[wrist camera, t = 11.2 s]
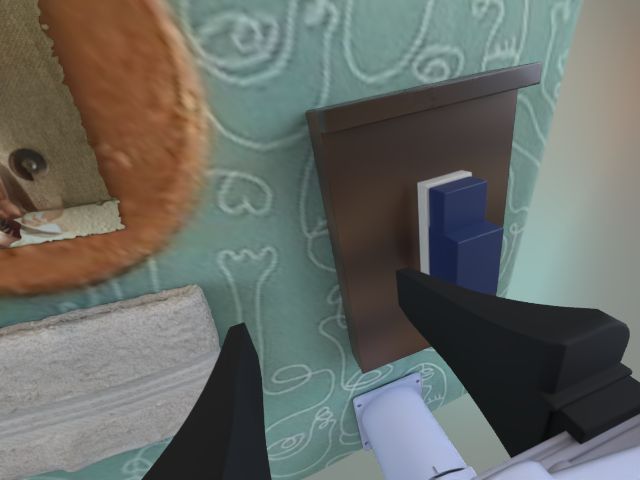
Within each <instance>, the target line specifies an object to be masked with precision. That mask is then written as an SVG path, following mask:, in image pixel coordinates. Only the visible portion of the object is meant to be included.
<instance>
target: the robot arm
mask: <svg viewBox="0 0 640 480" xmlns="http://www.w3.org/2000/svg"><path fill="white" fill-rule="evenodd" d="M396 281H397V292H398V304H399V306H400V308H401V309H402V311H403V312H404V314H405V315H406V317H407V318H408V320H409V321H410V322H411V323H412V325H413V326H414V327H415V328H416V329H417V330H418V331H419V333H420V334H421V335H422V336H423V337H424V338H425V339H426V340H427V342H428V343H429V344H430V345H431V346H432V347H433V348H434V349H435V350H436V352H437V353H438V354H439V355H440V356H441V357H442V358H443V359H444V361H445V362H446V363H447V364H448V366H449V367H450V368H451V369H452V371H453V372H454V374H455V375H456V376H457V378H458V379H459V380H460V382H461V383H462V384H463V386H464V387H465V389H466V390H467V391H468V393H469V394H470V396H471V397H472V399H473V400H474V402H475V403H476V404H477V406H478V407H479V409H480V410H481V412H482V413H483V415H484V416H485V418H486V419H487V421H488V422H489V424H490V425H491V427H492V428H493V430H494V431H495V433H496V435H497V436H498V438H499V439H500V441H501V443H502V444H503V446H504V447H505V449H506V451H507V452H508V454H509V455H510V457H511V459H509V460H507V461H505V462H503V463H501V464H499V465H497V466H495V467H493V468H491V469H489V470H487V471H485V472H483V473H481V474H479V475H477V474H476V473H475V471H474V470H473V469H472V467H471V466H468V467H467V465H466V464H465V462H464V461H463V459H462V458H461V456H460V455H459V454H458V452H457V451H456V449H455V447H454V446H453V445H452V443H451V442H450V440H449V439H448V437H447V436H446V434H445V433H444V431H443V430H442V428H441V427H440V425H439V424H438V422H437V421H436V420H435V418H434V416H433V415H432V414H431V412H430V411H429V409H428V408H427V406H426V405H425V403H424V402H423V400H422V385H421V375H420V374H419V373H417V372H416V373H414V374H411V375H409V376H406V377H404V378H401V379H399V380H397V381H394V382H392V383H389V384H387V385H385V386H382V387H380V388H377V389H375V390H373V391H370V392H368V393H365V394H363V395H360V396H358V397H356V398H355V399H354V400H353V404H354V409H355V413H356V418H357V422H358V427H359V432H360V436H361V441H362V446H363V449H364V450H366V451H367V450H369V449H373V451H374V453H375V455H376V458H377V460H378V462H379V465H380V467H381V469H382V472H383V474H384V477H385V479H386V480H640V382H638V381H637V380H635V379H634V378H632V377H631V376H630V375H631V374H632V371H631V369H630V368H628V367H626V366H625V365H623V364H622V363H620V361H621V359H622V357H623V354H624V352H625V349H626V347H627V344H628V341H629V335H630V334H629V329H628V327H627V325H626V324H625V323H622V322H621V321H619V320H617V319H615V318H613V317H612V316H610V315H608V314H606V313H604V312H602V311H600V310H598V309H590V308H574V307H559V306H550V305H542V304H534V303H528V302H522V301H516V300H511V299H506V298H501V297H497V296H493V295H489V294H485V293H481V292H477V291H474V290H470V289H467V288H464V287H461V286H458V285H455V284H452V283H449V282H447V281H444V280H441V279H439V278H436V277H433V276H431V275H428V274H426V273H423V272H420V271H418V270H415V269H412V268H410V267H405V268H402V269H399V270H396ZM142 480H271V474H270V467H269V461H268V454H267V447H266V439H265V425H264V407H263V389H262V376H261V370H260V365H259V359H258V355H257V352H256V350H255V347H254V345H253V343H252V340H251V338H250V335H249V333H248V330H247V328H246V325H245V323H241V324H238V325H235V326H232V327H230V328H229V330H228V333H227V335H226V338H225V341H224V344H223V346H222V349H221V351H220V354H219V356H218V359H217V361H216V363H215V366H214V368H213V370H212V372H211V374H210V376H209V378H208V380H207V382H206V385H205V387H204V389H203V391H202V392H201V394H200V396H199V398H198V400H197V401H196V403H195V405H194V407H193V408H192V410H191V412H190V413H189V415H188V417H187V418H186V420H185V421H184V423H183V424H182V426H181V427H180V429H179V430H178V432H177V433H176V435H175V436H174V438H173V439H172V441H171V442H170V444H169V445H168V446H167V448H166V449H165V450H164V452H163V453H162V454H161V456H160V457H159V458H158V460H157V461H156V462H155V463H154V465H153V466H152V467H151V468H150V470H149V471H148V472H147V473H146V475H145V476H144V477H143V478H142Z"/></svg>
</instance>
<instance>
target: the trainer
mask: <svg viewBox="0 0 640 480" xmlns="http://www.w3.org/2000/svg"><path fill="white" fill-rule="evenodd" d="M487 185H488V181H487V180H483V179H479V178H475V177H472V173H471V172H468V171H464V170H460V171H457V172H453V173H450V174H446V175H443V176H439V177H436V178H432V179H429V180H425V181H422V182H418V183H417V186H418V212H419V238H420V264H421V272H423V273H426V274H428V275H431V276H433V277H436V278H439V279H441V280H444V281H447V282H449V283H452V284H455V285H458V286H461V287H464V288H467V289H470V290H474V291H477V292H481V293H485V294H489V295H492V294H495V293H497V285H498V276H499V267H500V257H501V248H502V239H503V227H500V226H498V225H495V224H493V223H491V222H488V221H486V220H485V212H486V199H487Z"/></svg>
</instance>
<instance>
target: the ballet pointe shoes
mask: <svg viewBox="0 0 640 480" xmlns="http://www.w3.org/2000/svg"><path fill="white" fill-rule="evenodd" d="M38 3H39V2H38V0H0V249H4V248H9V247H11V248H12V247H16V246H24V245H25V244H28V245H30V244H31V243H37V244H38V243H41V242H44V241H47V240H49V241H50V242H51V241H52V240H57V239H58V240H62V239H64V238H65V239H67V238H70V239H71V238H75V237H76V236H79V235H81V236H83V237H84V236H86V235H88V233H89V235H90V236H91V233H93V234H96V233H98V234H102V233H106V232H111V231H115V230H116V229H118V230H120V229H124V228H126V227H125V225H121V223H120V221H121V220H120V219H121V217H117V216H118V215H119V214H120V213H119V211H118V205H117V203H119V202H120V201H119V200H117V199H116V198H117V197H115V198H111V196H109V195H108V194H107V193H108V190H107V189H106V188H105V185H106V184H105V183H104V181H103V179H104V178H103V177H101V175H100V174H99V173H98V171H99V170H98V167H96V166H98V162H97V159H96V158H95V152H94V151H93V148H92V147H90V146H87V145H88V143H89V142H88V141H87V140H86V138H87V135H86V131H85V128H83V127H82V126H81V122H83V121H82V120H81V119H80V117H81V114H80V113H79V109H78V108H77V107H76V106H74V102H72V100H74V98H73V96H72V95H71V94H70V89H69V87H68V85H63V84H61V83H62V82H63V80H64V77H65V74H64V73H63V67H62V66H61V65H60V64H59V63H58V60H59V57H57V56H55V57H52V56H51V55H52V53H53V52H54V51H53V50H51V49H50V47H52V46H53V45H54V41H53V39H50V38H47V35H46V33H44V32H42V30H43V29H42V28H39V27H40V23H39V22H38V21H39V19H38V17H39V16H40V15H41V11H40V10H39V9H38V5H37V4H38ZM41 26H42V27H43V28H44V29H46V30H48V29H49V28H48V25H45V24H44V25H41ZM64 81H65V80H64Z"/></svg>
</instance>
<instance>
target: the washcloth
mask: <svg viewBox="0 0 640 480" xmlns="http://www.w3.org/2000/svg"><path fill="white" fill-rule="evenodd" d="M220 351H221V349H220V346H219V335H218V331H217V327H216V325H215V320H214V319H213V317H212V314H211V308H210V307H209V305H208V302H207V300H206V298H205V296H204V293H203V290H202V289H201V288H200V287H198V286H197V283H196V284H195V285H192V286H191V285H188V286H186V287H181V288H179V289H170V290H168V291H165V290H161V291H160V292H159V293H156V294H147V295H143V296H140V297H137V298H131V299H125V300H123V301H117V302H115V303H108V304H105V305H95V306H93V307H91V308H85V309H77V310H75V311H73V310H71V311H70V312H67V313H63V314H59V315H57V316H51V317H47V318H44V319H43V320H39V321H37V320H34V321H30V322H21V323H18V324H15V325H11V326H6V327H4V328H0V480H18V479H23V478H27V477H30V476H34V475H39V474H43V473H46V472H51V471H58V470H65V471H67V472H69V473H73V472H76V471H79V470H82V469H84V468H86V467H88V466H89V465H91V464H93V463H95V462H97V461H100V460H104V459H106V458H109V457H112V456H114V455H117V454H120V453H123V452H127V451H130V450H134V449H137V448H141V447H145V446H148V445H150V444H151V443H157V442H159V441H162V440H164V439H166V438H169V437H172V436H174V435H176V433H177V432H178V430H179V429H180V427H181V426H182V424H183V423H184V421H185V420H186V418H187V417H188V415H189V413H190V412H191V410H192V408H193V407H194V405H195V403H196V401H197V400H198V398H199V396H200V394H201V392H202V391H203V389H204V387H205V385H206V382H207V380H208V378H209V376H210V374H211V372H212V370H213V368H214V366H215V363H216V361H217V359H218V356H219V354H220Z"/></svg>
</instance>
